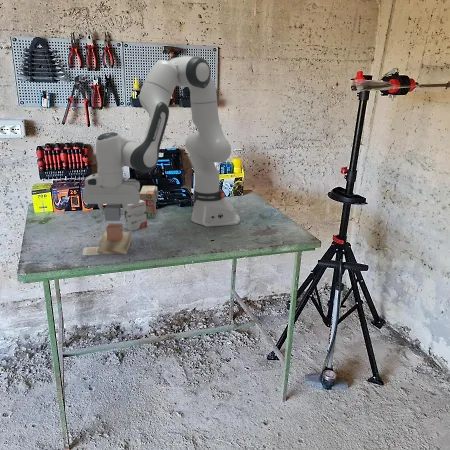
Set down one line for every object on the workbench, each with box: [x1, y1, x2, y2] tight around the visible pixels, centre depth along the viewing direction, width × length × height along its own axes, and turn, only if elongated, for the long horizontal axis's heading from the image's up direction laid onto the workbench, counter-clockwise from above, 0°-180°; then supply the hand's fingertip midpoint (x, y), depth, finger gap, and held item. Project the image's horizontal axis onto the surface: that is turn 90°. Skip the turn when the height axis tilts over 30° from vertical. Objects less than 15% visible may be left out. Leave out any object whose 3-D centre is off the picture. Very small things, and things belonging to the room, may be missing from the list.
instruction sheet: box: [81, 246, 101, 257], centre depth 157 cm, size 9×7×1 cm
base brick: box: [98, 231, 132, 255], centre depth 160 cm, size 10×12×4 cm
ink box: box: [123, 200, 148, 232], centre depth 178 cm, size 9×5×12 cm, turn 134°
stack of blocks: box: [139, 185, 159, 219], centre depth 199 cm, size 21×6×12 cm, turn 3°
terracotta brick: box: [105, 222, 124, 241], centre depth 158 cm, size 5×5×5 cm
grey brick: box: [103, 204, 122, 222], centre depth 155 cm, size 5×5×5 cm
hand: (113, 214), depth 155 cm, fingers closed on grey brick, 5 cm apart
